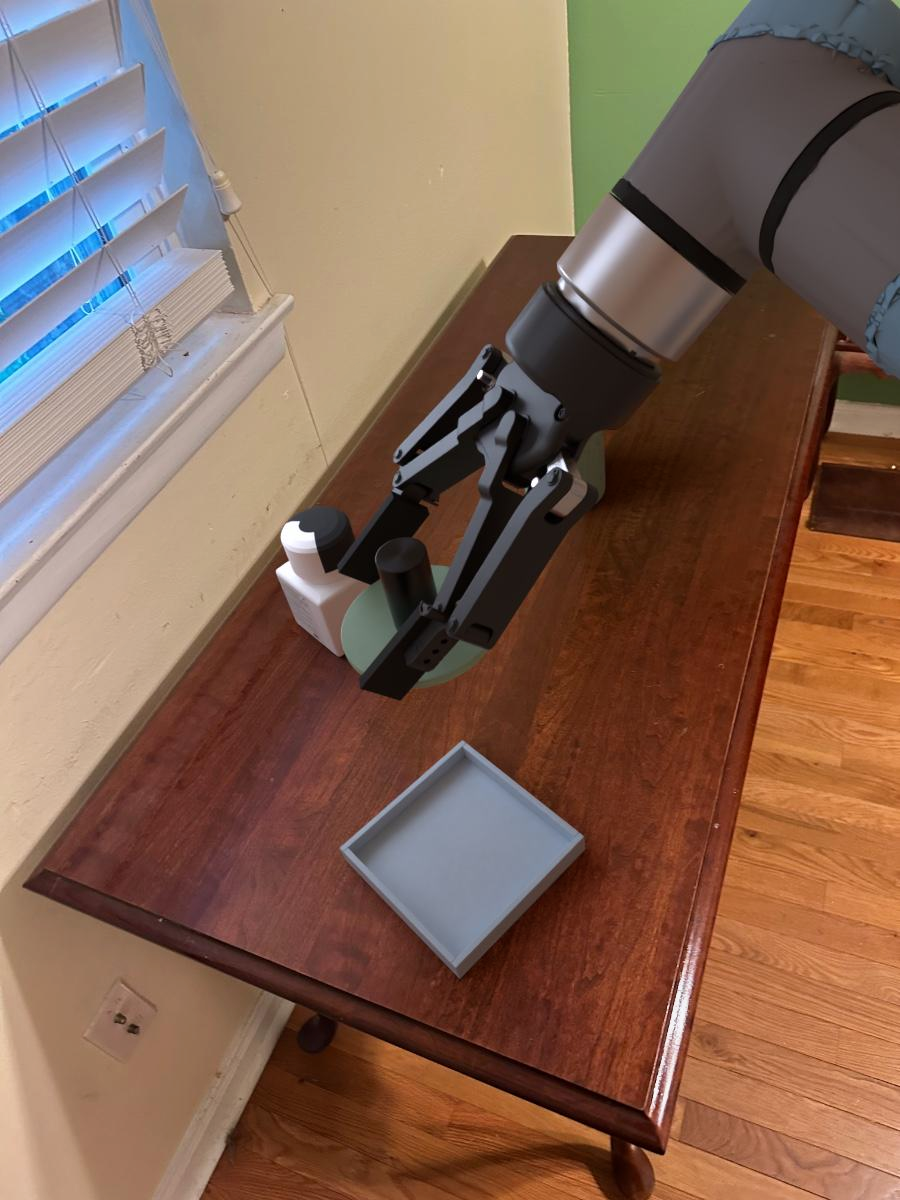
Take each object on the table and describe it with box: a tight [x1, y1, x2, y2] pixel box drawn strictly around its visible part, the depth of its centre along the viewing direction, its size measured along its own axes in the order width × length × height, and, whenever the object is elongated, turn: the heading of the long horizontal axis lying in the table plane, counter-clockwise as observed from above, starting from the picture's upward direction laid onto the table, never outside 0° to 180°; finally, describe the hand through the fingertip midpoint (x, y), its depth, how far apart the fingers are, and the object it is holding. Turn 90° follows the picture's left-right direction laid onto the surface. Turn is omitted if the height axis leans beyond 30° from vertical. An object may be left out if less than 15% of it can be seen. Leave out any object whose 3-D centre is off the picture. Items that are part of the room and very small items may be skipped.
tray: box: [339, 739, 586, 979], centre depth 66 cm, size 14×14×2 cm
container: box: [275, 505, 380, 658], centre depth 83 cm, size 8×8×13 cm
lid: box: [341, 537, 490, 690], centre depth 51 cm, size 10×10×7 cm
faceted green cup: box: [523, 430, 606, 505], centre depth 93 cm, size 9×9×10 cm
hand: (366, 629), depth 52 cm, fingers closed on lid, 9 cm apart
